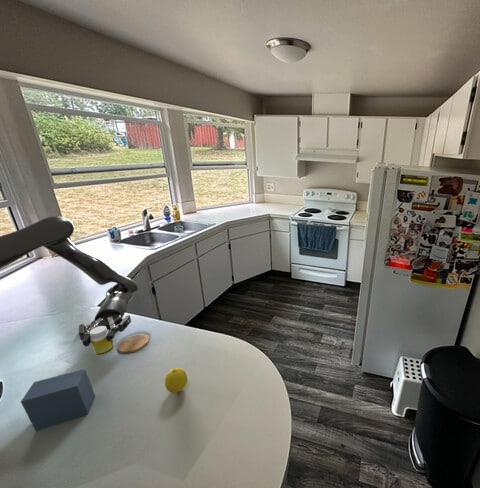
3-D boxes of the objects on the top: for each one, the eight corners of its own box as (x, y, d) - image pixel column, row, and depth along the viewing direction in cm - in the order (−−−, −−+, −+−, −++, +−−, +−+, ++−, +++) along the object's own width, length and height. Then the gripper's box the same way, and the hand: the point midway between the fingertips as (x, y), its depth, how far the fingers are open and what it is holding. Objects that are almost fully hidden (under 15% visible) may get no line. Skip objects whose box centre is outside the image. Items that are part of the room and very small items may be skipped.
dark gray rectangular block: (35, 431, 62) (20, 401, 58) (47, 410, 67) (33, 381, 63) (88, 414, 66) (76, 386, 63) (95, 395, 71) (85, 368, 68)
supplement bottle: (116, 349, 82) (110, 328, 79) (98, 358, 78) (91, 337, 75) (110, 343, 84) (103, 323, 81) (92, 352, 80) (85, 331, 78)
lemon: (162, 396, 72) (157, 375, 69) (177, 380, 77) (173, 360, 74) (179, 401, 70) (174, 379, 68) (193, 384, 75) (189, 364, 73)
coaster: (115, 356, 85) (115, 354, 84) (121, 339, 92) (121, 338, 92) (147, 348, 89) (147, 346, 88) (150, 333, 96) (150, 331, 96)
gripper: (83, 307, 87) (62, 338, 72) (133, 298, 93) (123, 325, 79) (89, 325, 89) (69, 358, 75) (138, 315, 95) (128, 344, 81)
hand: (97, 341), depth 77 cm, fingers closed on supplement bottle, 4 cm apart
